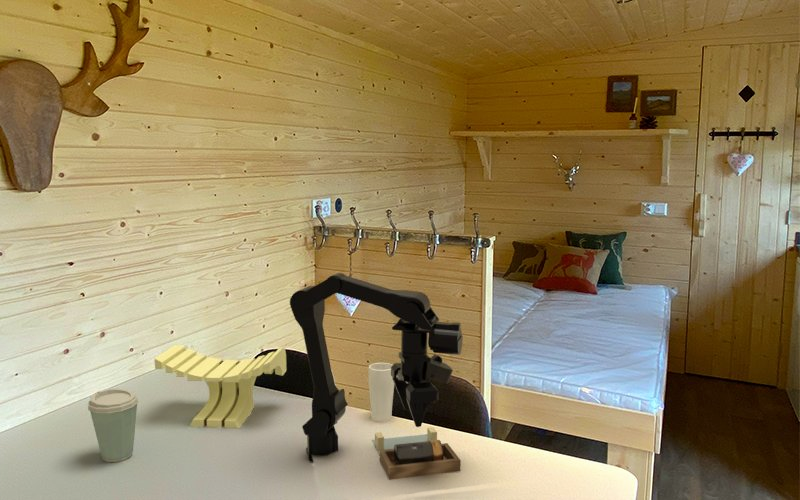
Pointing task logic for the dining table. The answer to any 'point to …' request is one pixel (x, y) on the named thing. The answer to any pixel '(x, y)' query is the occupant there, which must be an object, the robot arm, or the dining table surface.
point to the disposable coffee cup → (114, 422)
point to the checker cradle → (402, 439)
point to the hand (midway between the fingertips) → (412, 418)
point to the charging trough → (420, 464)
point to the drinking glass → (381, 391)
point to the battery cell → (418, 452)
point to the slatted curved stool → (222, 382)
